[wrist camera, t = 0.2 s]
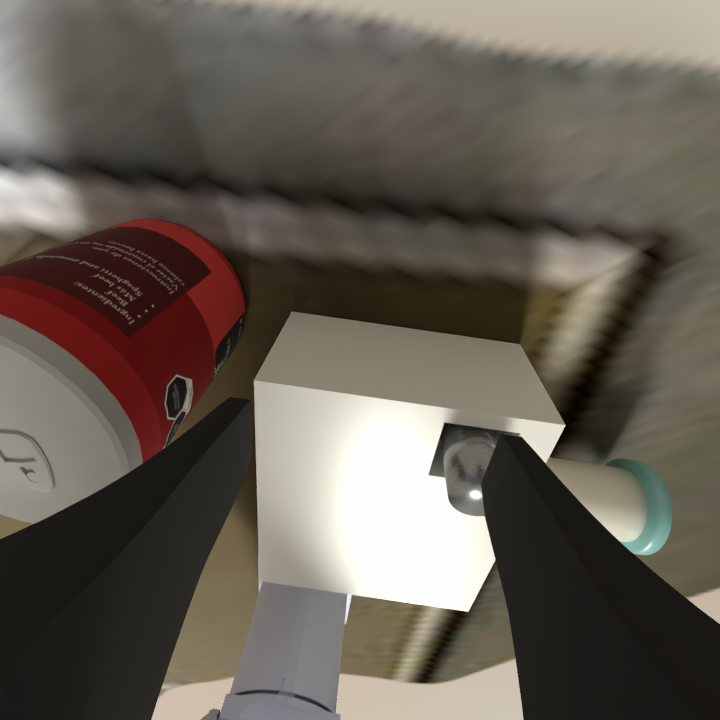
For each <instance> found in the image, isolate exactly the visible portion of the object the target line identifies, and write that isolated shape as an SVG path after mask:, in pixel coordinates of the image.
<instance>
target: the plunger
mask: <svg viewBox="0 0 720 720" xmlns="http://www.w3.org/2000/svg"><path fill="white" fill-rule="evenodd" d="M497 441H498V436H497V433H496V430H494V429H487V428H480V427H473V426H466V425H459V424H452V423H445V422H444V425H443V428H442V431H441V435H440V444H441V451H442V459H443V466H444V473H445V480H446V487H447V494H448V500H449V502H450V504H451V505H452V507H453V508H455V509H456V510H457V511H459V512H461V513H463V514H466V515H471V516H485V513H484V506H483V498H482V488H481V482H482V479H483V477H484V474H485V472H486V469H487V467H488V464H489V462H490V459H491V457H492V454H493V452H494V449H495V446H496V444H497Z"/></svg>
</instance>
